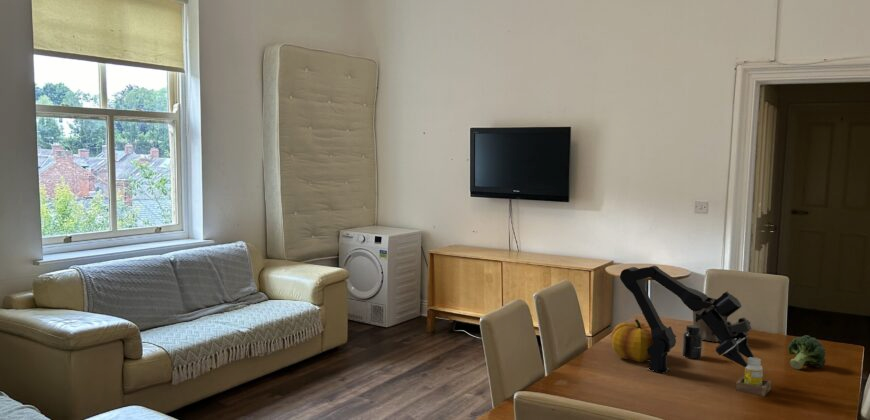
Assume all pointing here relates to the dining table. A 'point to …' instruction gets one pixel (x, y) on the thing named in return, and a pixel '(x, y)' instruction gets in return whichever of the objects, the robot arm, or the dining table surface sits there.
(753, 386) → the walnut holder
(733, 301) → the robot arm
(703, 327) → the plant pot
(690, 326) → the supplement bottle
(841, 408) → the dining table surface
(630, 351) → the decorative pumpkin
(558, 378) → the dining table surface
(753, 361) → the supplement bottle
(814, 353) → the vegetable
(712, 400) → the dining table surface
